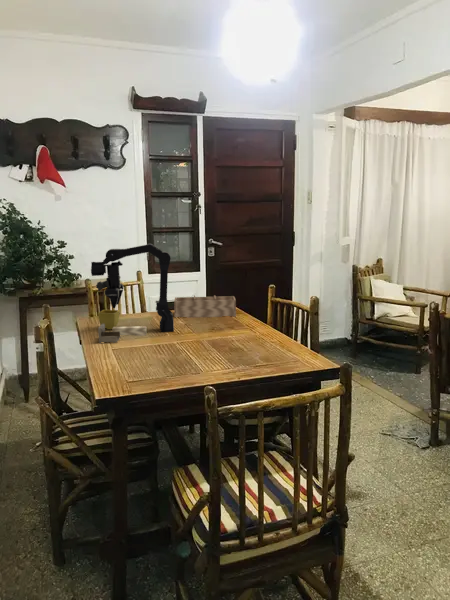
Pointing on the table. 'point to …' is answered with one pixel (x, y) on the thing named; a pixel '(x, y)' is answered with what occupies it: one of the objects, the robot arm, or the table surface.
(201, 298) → the holder
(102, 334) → the bracket
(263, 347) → the table surface
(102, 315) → the flower pot
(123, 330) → the rail
